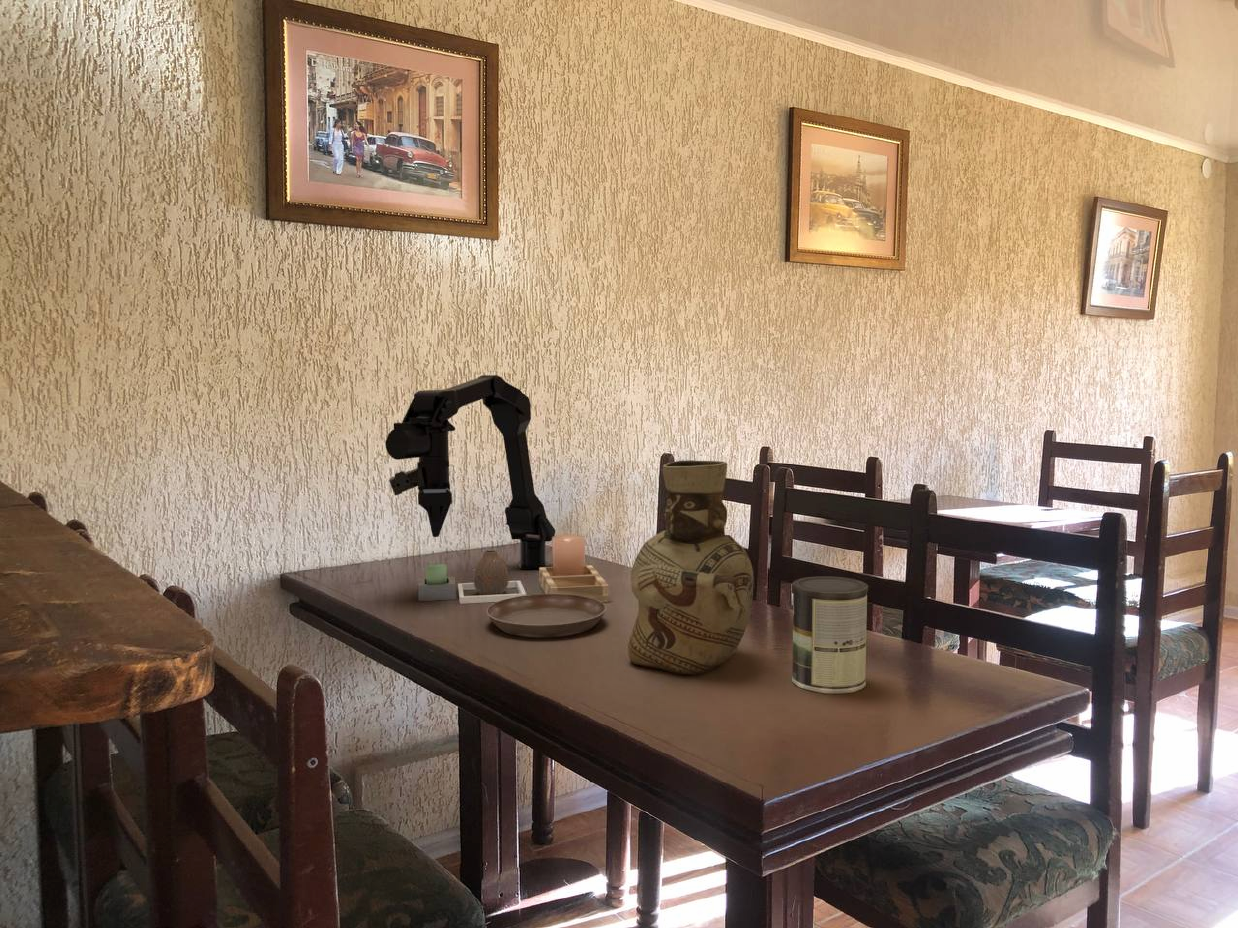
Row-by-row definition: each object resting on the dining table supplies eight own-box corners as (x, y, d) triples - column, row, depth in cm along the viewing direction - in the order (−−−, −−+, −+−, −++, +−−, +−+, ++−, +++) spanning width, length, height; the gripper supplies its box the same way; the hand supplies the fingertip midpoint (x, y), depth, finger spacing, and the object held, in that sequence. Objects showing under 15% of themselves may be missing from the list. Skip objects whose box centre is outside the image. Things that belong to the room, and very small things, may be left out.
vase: (506, 598, 190) (505, 554, 189) (470, 598, 190) (469, 554, 190) (511, 591, 197) (510, 547, 196) (476, 591, 197) (475, 547, 196)
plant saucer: (591, 645, 159) (591, 624, 158) (469, 639, 163) (469, 619, 162) (617, 614, 179) (617, 596, 178) (508, 609, 183) (508, 591, 183)
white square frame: (457, 589, 199) (457, 583, 199) (520, 586, 201) (520, 580, 201) (459, 603, 186) (459, 597, 186) (526, 600, 189) (526, 594, 189)
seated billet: (550, 578, 203) (550, 535, 202) (582, 576, 204) (582, 533, 204) (554, 584, 197) (554, 540, 196) (587, 583, 198) (587, 539, 197)
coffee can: (777, 684, 138) (778, 585, 136) (813, 666, 146) (814, 572, 144) (845, 699, 131) (847, 595, 130) (878, 680, 139) (880, 582, 138)
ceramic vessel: (660, 688, 136) (660, 472, 133) (608, 649, 155) (606, 460, 153) (781, 673, 143) (784, 467, 140) (716, 636, 162) (717, 455, 159)
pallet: (539, 582, 204) (539, 567, 204) (591, 580, 207) (591, 565, 206) (551, 604, 185) (551, 588, 185) (608, 602, 187) (608, 585, 187)
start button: (426, 586, 194) (425, 564, 194) (447, 585, 195) (446, 563, 194) (426, 591, 190) (425, 568, 190) (447, 590, 191) (446, 567, 191)
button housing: (418, 593, 195) (418, 578, 195) (454, 591, 197) (454, 576, 197) (418, 601, 189) (418, 585, 188) (455, 599, 190) (455, 584, 190)
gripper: (392, 452, 198) (394, 529, 199) (389, 460, 179) (391, 545, 181) (448, 451, 200) (450, 527, 201) (451, 459, 182) (452, 543, 183)
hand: (435, 535), depth 192 cm, fingers open, 3 cm apart
